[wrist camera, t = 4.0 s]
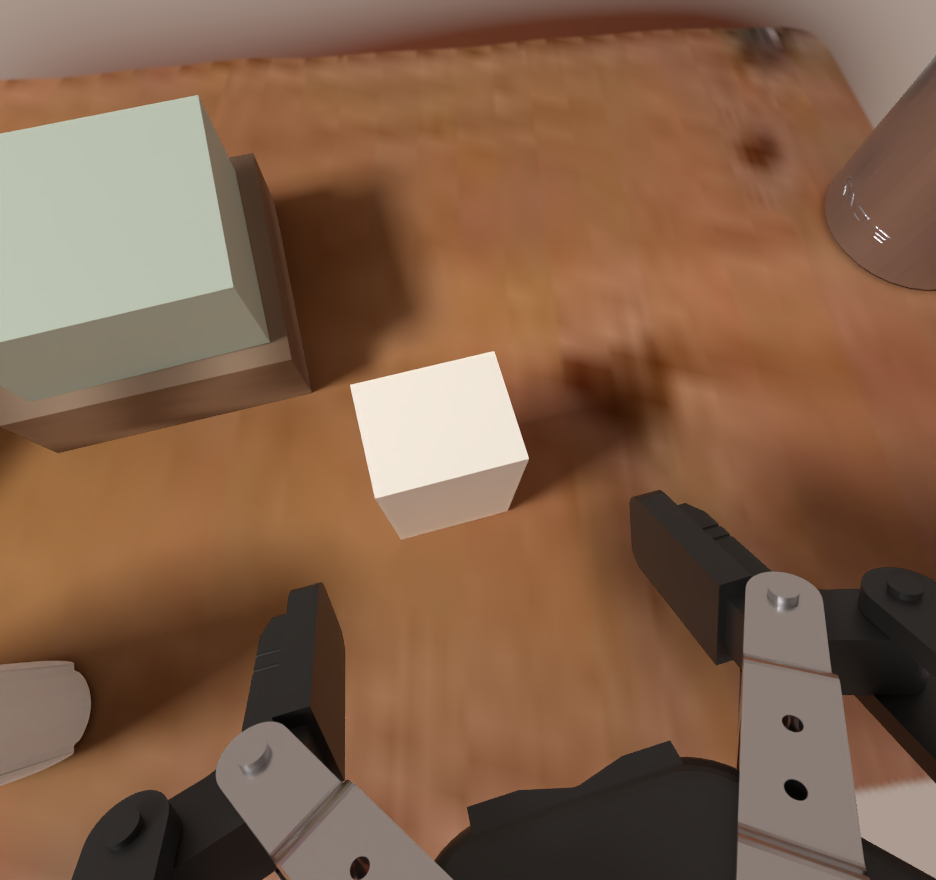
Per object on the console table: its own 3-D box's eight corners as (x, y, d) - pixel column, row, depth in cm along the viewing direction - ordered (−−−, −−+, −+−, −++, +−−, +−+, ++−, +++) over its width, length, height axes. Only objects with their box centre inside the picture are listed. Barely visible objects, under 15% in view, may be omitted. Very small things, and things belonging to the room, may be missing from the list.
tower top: (235, 171, 27) (198, 94, 23) (270, 342, 23) (233, 287, 20) (23, 216, 26) (-53, 144, 22) (29, 401, 22) (-58, 355, 19)
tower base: (278, 211, 31) (253, 153, 27) (314, 397, 27) (291, 359, 23) (59, 255, 30) (0, 200, 26) (65, 456, 26) (-2, 426, 22)
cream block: (483, 432, 26) (494, 350, 18) (507, 511, 25) (529, 458, 17) (382, 457, 25) (349, 385, 18) (401, 539, 24) (374, 498, 17)
